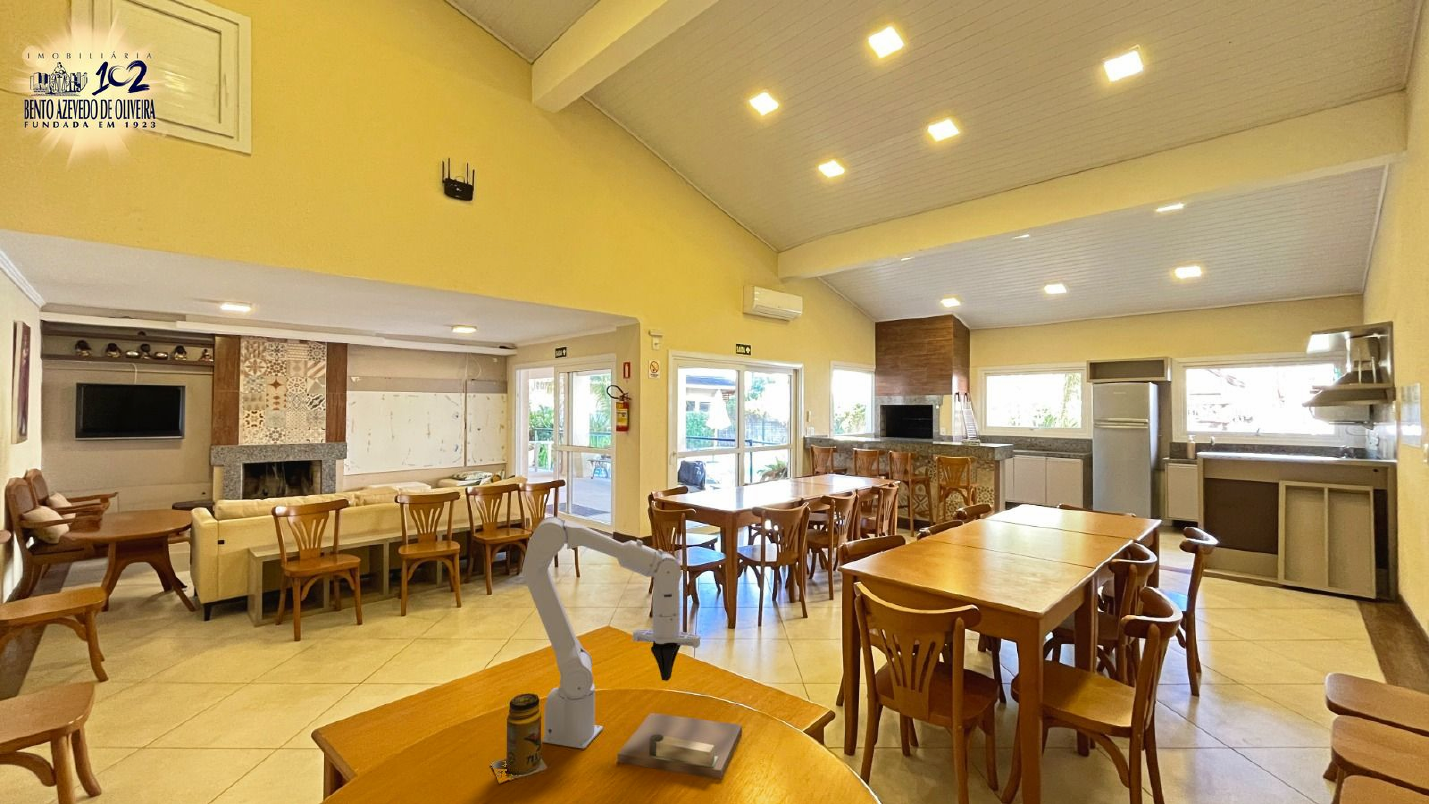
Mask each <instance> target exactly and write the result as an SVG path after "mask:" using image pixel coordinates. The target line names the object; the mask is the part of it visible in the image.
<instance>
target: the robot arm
mask: <svg viewBox="0 0 1429 804" xmlns="http://www.w3.org/2000/svg"><path fill="white" fill-rule="evenodd" d="M566 544H567V546H566V550H570V549H574V548H577V547H585V548H587V549H590V550H594V551H596V552H599V553H602V554H604V555H607V556H610V557H613V558H616V559H617V562H618V564H619V566H620V567H621V568H624V569H626V570H629V571H631V572H634V573H637V574H639V575H642V576H644V577H646V578H651V577H652V578H653V580H652V581H653V589H652V629H636V630H634V631H633V632H632V638H633V639H632V642H635V643H637V642H648V643H652V646H651V647H650V651H651V653H652V655H653V657H654V659H655V662H656V663H657V666H658V669H659V674H660V678H661V681H664V682H668V681H669V680H670V679H671V678H672V674H673V667H674V664H675V661H676V658H677V655H678V653H679V651H680V648H681V646H684V647H685V646H686V647H687V646H688V647H692V648H694V649H698V647H700V645H701V635H699V634H693V633H689V632H685V631H681V630H680V626H681V625H680V624H681V623H680V621H681V620H680V615H681V614H680V606H681V605H680V604H681V603H680V588H679V587H680V580H681V578H682V575H683V571H682V569H681V565H680V563H679V562H678V560H677V559H676V558H675V557H674V555H672V554H671V553H669V552H668V551H664V550H662V549H661V548H658V549H657V550H656V549H654V548H652V547H650V546H647V545H644V542H643V540H640V539H636V541H635V540H631V539H630V540H628V541H625V542H621V541H618V540H616V539H614V538H611V537H609V536H608V535H605V534H603V533H601V532H599V531H596V530H594V529H591V528H589V527H588V526H584V525H583V524H580V523H577V522H575V521H572V520H567V519H565V520H563V519H562V518H560V517H558V516H547V517H545V518H543V519H542V520H541V521H539V523H538V525H537V526H536V528H535V529H534V531H533V532H532V535H531V537H530V538H529V540H528V542H527V548H526V552H525V556H524V561H523V564H522V568H521V570H522V571H521V572H522V575H523V578H524V580H525V583H526V585H527V587H528V590H529V593H530V595H531V598H532V600H533V603H534V605H535V607H536V609H537V612H538V615H539V617H540V619H541V622H542V624H543V627H544V630H545V631H546V634H547V637H548V639H549V641H550V644H551V647H552V649H553V653H555V654H554V656H555V660H556V666H557V669H558V671H559V675H560V681H559V687H554V688H552V689H551V691H550V692H549V693H548V695H547V698H546V701H545V705H544V737H543V738H541V743H545V744H550V745H551V744H552V745H559V746H564V747H571V748H576V749H577V748H578V749H585V748H587V746H588V745H589V744H590V743H591V742H592V741H593V740H594V739H595V738H596V737H597V736H598V735H599V734H600V733H601V732H602V730H604V727H603V726H602V725H598V724H597V725H596V723H595V721H596V720H595V719H596V718H595V716H596V713H595V712H596V708H595V707H596V706H595V704H596V699H595V698H596V696H595V695H596V694H595V693H596V691H595V690H596V686H595V685H596V684H595V683H594V676H593V675H594V674H593V669H592V668H593V658H592V656H591V654H590V653H589V652H588V651H587V650H586V649H585V648H583V646H582V644H581V642H580V640H579V639H578V638H577V636H576V634H575V631H574V629H573V626H572V624H571V621H570V618H569V616H568V614H567V612H566V608H565V607H564V604H563V602H562V598H561V597H560V594H559V592H558V590H557V589H558V588H557V587H556V585H555V583H554V582H555V581H554V580H553V577H552V575H551V573H550V570H549V568H550V566H551V564H552V562H553V560H554V558H555V556H557V555H558V554H559V552H560V551H562V549H563V547H564V546H565V545H566Z"/></svg>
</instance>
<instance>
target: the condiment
mask: <svg viewBox="0 0 1429 804" xmlns="http://www.w3.org/2000/svg"><path fill="white" fill-rule="evenodd" d="M508 713H509V714H508V715H507V718H506V758H504V759H501V760H496V761H493V762H491V763H492V764H490V763H489V764H490V766H492V765H493V766H494V767H493V768H495V769H507V771H505V773H506V774H512V775H513V776H511V777H510V776H507V777H506V778H509V777H510V778H511V779H512V778H516V779H520V778H522V777H527V776H529V775H532V774H535V773H536V774H537V773H538V772H541V771H545V770H546V769H548V766H547V765H546V763H545V761H544V760H543V759H542V757H541V755H542V753H541V751H542V711H541V710H540V698H539V696H538V695H537V694H535V693H527V692H526V693H521V694H518V695H516V696H514V697H513V698H512V699H511V700H510V701H509V710H508ZM503 761H506V764H507V765H506V767H504V766H505V765H504V764H505V762H503ZM502 765H504V766H502ZM502 772H503V771H501V772H500V771H498V772H497V773H501V774H502ZM516 775H517V776H516ZM519 775H522V777H521V776H519ZM497 777H499V775H498V774H497ZM501 777H502V775H501ZM501 777H500V778H501Z"/></svg>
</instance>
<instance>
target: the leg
mask: <svg viewBox="0 0 1429 804" xmlns="http://www.w3.org/2000/svg"><path fill="white" fill-rule="evenodd" d="M650 754H651V755H654V756H660V757H665V758H670V759H675V760H680V761H685V762H690V763H695V764H700V765H705V766H711V764H712V762H713V761H714V745H710V744H704V743H699V742H694V741H688V740H683V739H678V738H672V737H667V736H662V735H653V736H651V737H650Z"/></svg>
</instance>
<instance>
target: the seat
mask: <svg viewBox="0 0 1429 804" xmlns="http://www.w3.org/2000/svg"><path fill="white" fill-rule="evenodd" d="M741 733H742V734H743V724H738V723H731V722H721V721H714V720H707V719H699V718H693V717H687V716H686V717H684V716H677V715H670V714H663V713H657V712H650V713H649V714H648V716H646V718H645V719H644V720H643V722H642V723H641V724H640V726H638V728H636V731H635V732H634V733H633V734H632V735H631V736H630V738H629V739H628V740H627V742H625V744H624V745H623V746H622V748H620V750H619V751H618V753H617V763H618V764H619V763H622V764H627V765H633V766H640V767H645V768H651V769H658V770H661V771H662V770H664V771H669V772H676V773H682V774H687V775H692V776H693V775H694V776H699V777H706V778H712V779H716V780H717V779H718V780H722V779H723V776H724V774H725V772H726V770H727V767H728V765H729V762H730V761H731V758H732V756H733V754H734V753H735V752H734V751H735V750H736V747H737V745H738V743H739V741H738V740H740V738H741V736H742V734H741ZM653 735H662V736H667V737H672V738H678V739H683V740H688V741H694V742H699V743H704V744H710V745H714V761H713V762H712V764H711V766H705V765H700V764H695V763H690V762H685V761H680V760H675V759H670V758H665V757H660V756H654V755H651V754H650V737H651V736H653ZM740 735H741V736H740ZM739 737H740V738H739Z"/></svg>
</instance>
